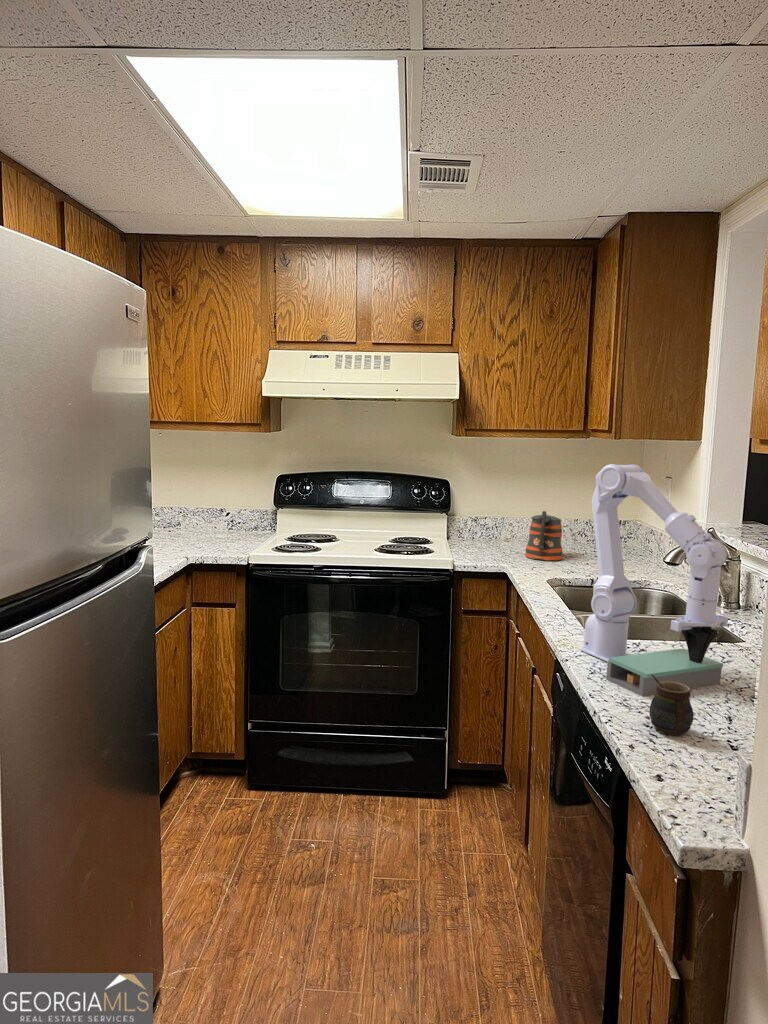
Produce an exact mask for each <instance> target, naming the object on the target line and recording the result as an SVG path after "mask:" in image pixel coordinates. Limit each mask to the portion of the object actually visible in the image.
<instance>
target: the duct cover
mask: <svg viewBox="0 0 768 1024" xmlns="http://www.w3.org/2000/svg"><path fill="white" fill-rule="evenodd" d="M609 662H611V663H613V664H616V665H618V666H620V667H622V668H625V669H627V670H629V671H631V672H633V673H636V674H638V675H640V676H642V677H645V678H652V675H654V676H655V677H659V676H666V675H673V674H680V673H687V672H694V671H701V670H708V669H715V668H723V667H724V663H722V662H721V661H717V660H715V659H713V658H709V657H707V656H704V658H703V661H702V663H695V662H693V661H690V659H689V653H688V649H686V648H676V649H668V650H659V651H651V652H643V653H642V652H641V653H636V654H635V653H634V654H628V655H626V656H618V657H610V658H609ZM651 674H652V675H651Z"/></svg>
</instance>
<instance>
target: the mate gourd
mask: <svg viewBox="0 0 768 1024" xmlns="http://www.w3.org/2000/svg"><path fill="white" fill-rule="evenodd" d="M651 675H652V674H651ZM652 677H653V678H654V679H655V681H656V682H657V683H658V684H657V688H656V692H657V693H656V694H654V696H653V698H652V699H651V702H650V705H649V718H650V722H651V724H652V726H653V727H655V729H656V730H657V731H659V732H660V733H662V734H666V735H670V736H671V735H672V736H674V737H678V736H683V735H684V734H686V733H687V732H689V730H690V729H691V727H692V725H693V722H694V718H695V717H694V716H695V714H694V710H693V706H692V704H691V699H690V698H691V692H692V690H691V689H690V688H689V687H688V686H686V685H684V684H681V683H677V682H670V681H665V682H659V681H658V679H656V677H655V676H654V675H652Z"/></svg>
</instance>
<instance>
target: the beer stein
mask: <svg viewBox="0 0 768 1024" xmlns="http://www.w3.org/2000/svg"><path fill="white" fill-rule="evenodd" d="M530 519H531V522H530V527H529V532H528V533H529V534H528V541H527V544H526V547H525V548H526V549H525V557H526V558H528V559H532V560H537V561H547V562H551V561H552V562H556V561H561V560H563V547H562V537H563V527H562V526H563V525H562V519H560V518H558V517H556V516H553V515H550V514H549V515H548V514H547V511H546V510H543V511H542V513H541V514H537V515H533V516H531V517H530Z"/></svg>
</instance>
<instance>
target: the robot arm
mask: <svg viewBox="0 0 768 1024" xmlns="http://www.w3.org/2000/svg"><path fill="white" fill-rule="evenodd" d="M595 484H596V485H595V488H594V492H593V494H592V497H591V509H592V520H593V529H594V537H595V548H596V558H597V567H598V575H599V576H598V579H597V580H596V582H595V584H594V585H593V587H592V589H593V595H592V598H591V601H590V602H591V603H590V605H591V610H592V612H593V613H592V614H591V615H589V616H588V617H587V619H586V621H585V624H584V632H583V634H584V635H583V643H582V644H583V645H582V646H583V647H581V648H580V649H579V650H580V651H582V652H584V653H585V654H589V655H591V656H592V657H595V658H597V659H600V660H602V661H604V662H607V663H608V662H609V658H610V657H618V656H626V655H629V654H627V644H628V635H629V623H630V619H631V614H632V613H634V611H635V610H636V608H637V603H638V602H637V601H638V600H637V597H636V595H635V593H634V591H633V588H632V583H631V581H630V580H629V579H628V578H627V576H626V575H625V571H624V569H625V568H624V563H623V562H624V560H623V552H622V551H623V550H622V542H621V532H620V522H619V514H618V507H619V506H620V504H622V502H623V501H625V499H627V498H628V497H636V498H639V499H640V500H641V501H642V502H643V503H644V504H645V505H647V506H648V507H649V509H651V511H653V513H655V514H656V516H658V517H659V518H660V519H661V520H662V521H663V522H664V531H665V532H666V533H667V535H668V536H669V537H670V538H671V539H672V540H673V541H674V542H675V543H676V544H677V545H678V547H680V548H681V550H682V551H683V552H685V557H686V561H687V563H688V565H689V567H690V570H689V571H690V573H689V581H688V590H687V597H686V606H685V607H686V608H685V615H684V616H681V617H679V618H676V619H671V622H670V630H672V631H675V632H677V633H679V632H681V633H682V636H683V637H684V640H685V642H686V647H687V650H688V653H689V659H690V661H693V662H695V663H702V661H703V658H704V657H706V656H705V655H706V653H707V652H708V649H709V646H710V645H711V643H712V642H713V641H714V639H715V638H716V637H717V635H718V631H717V630H716V629H713V628H718V627H723V628H725V627H728V622H729V617H728V616H724V615H721V614H719V615H718V614H717V609H718V608H717V607H718V600H719V590H720V581H721V580H720V579H721V571H722V570H721V569H722V565H723V564H725V562H726V561H727V559H728V550H727V548H726V546H725V545H724V543H723V541H721V540H720V539H716V538H715V539H714V538H713V536H712V534H711V533H710V532H706V531H705V530H704V529H703V528H702V527H701V525H699V524H698V523H697V522H696V520H697V518H696V517H695V515H693V514H688V513H687V512H679V511H677V509H676V508H675V507H674V505H673V504H672V503H671V502H670V501H669V500H668V499H667V497H666V496H665V495H664V494H663V492H662V491H661V490H660V489H659V488H658V487H657V485H655V483H654V482H653V481H652V479H651V477H650V475H649V474H648V473H647V472H644V470H643V468H642V467H641V466H639V465H637V464H614V463H609V464H606V465H604V467H602V468H601V470H600V471H599V472H598V473H596V475H595Z"/></svg>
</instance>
